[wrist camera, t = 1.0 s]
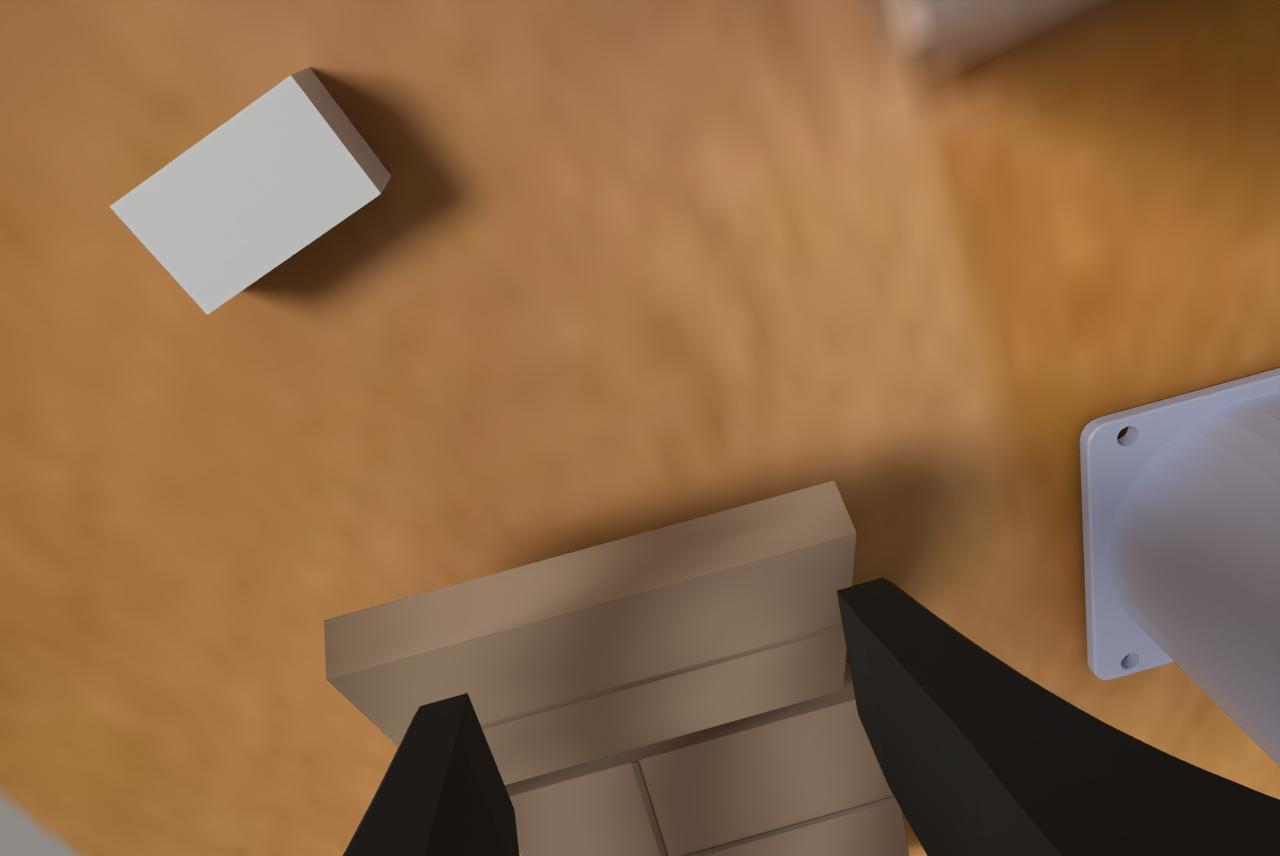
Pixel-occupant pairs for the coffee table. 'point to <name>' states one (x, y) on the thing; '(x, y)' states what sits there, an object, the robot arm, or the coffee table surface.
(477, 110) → the coffee table surface
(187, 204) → the light grey block
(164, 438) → the coffee table surface
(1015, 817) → the robot arm
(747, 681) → the board
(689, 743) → the laid board
